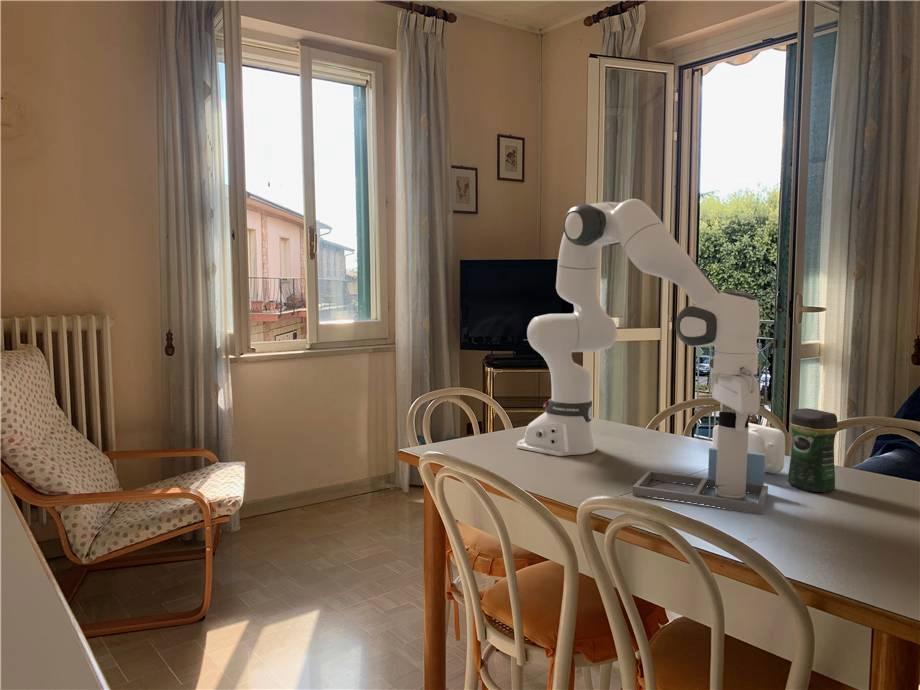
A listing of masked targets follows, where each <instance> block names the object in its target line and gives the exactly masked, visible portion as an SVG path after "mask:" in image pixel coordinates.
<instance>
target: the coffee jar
mask: <svg viewBox="0 0 920 690" xmlns="http://www.w3.org/2000/svg"><path fill="white" fill-rule="evenodd" d="M838 424H839V423H838V417H837V415H836V414H835V413H833V412H828V411H823V410H820V409H813V408H807V407H806V408H795V409H794V410H793V412H792V414H791V419H790V430H791V436H792V437H791V438H792V441H791V442H792V443H791V452H790V460H789V466H788V467H789V468H788V477H787V483H788V484H789V486H793V487H795V488H797V487H798V489H801V490H803V489H804V491H807V492H814V493H830V492H831V491H833V490H835V488H836V471H835V438H836V435H837V433H838V431H839V430H838V429H839V425H838Z"/></svg>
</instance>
